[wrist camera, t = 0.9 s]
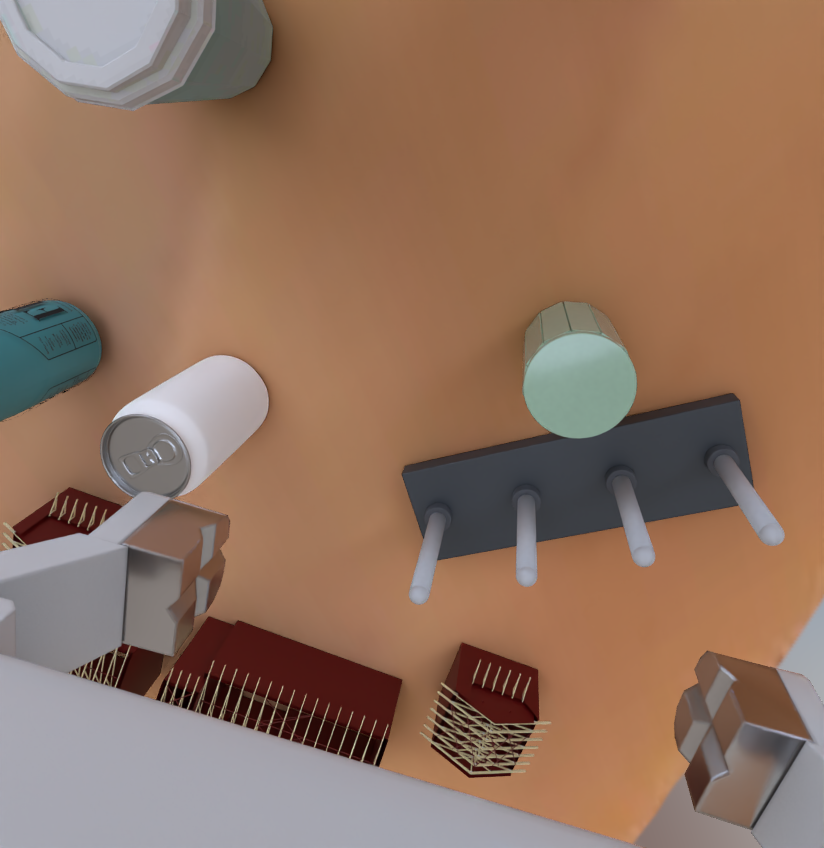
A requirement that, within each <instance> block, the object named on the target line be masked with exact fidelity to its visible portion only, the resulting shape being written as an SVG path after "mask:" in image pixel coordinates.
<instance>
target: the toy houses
mask: <svg viewBox="0 0 824 848" xmlns="http://www.w3.org/2000/svg"><path fill="white" fill-rule="evenodd" d="M122 507H123V506H120V505H117V504H115V503H112V502H109V501H106V500H103V499H101V498H98V497H95V496H92V495H89V494H87V493H84V492H81V491H78V490H75V489H73V488H70V487H69V488H68V489H67V490H65V491H64V492H62V493H61V494H59V492H57V495H56V497H55V498H54V499H52V500H51V501H49V502H48V503H46V504H45V505H44V506H42V507H41V508H39V509H38V510H36V511H35V512H34V513H32V514H31V515H29V516H28V517H26V518H25V519H24V520H22V521H21V522H19V523H18V524H16V525H15V526H13V527H12V528H13V529H14V530H13V529H12V528H11V527H10V526H9V525H8V524H7V523H6V522H5V523H3V524H4V525H5V526H6V527H7V528H8V529H9V530H10V531H11V532H12V533H13V534H14V537H13V540H12V539H11V538H10V537H9V536H8V535H7V534H6V533H2V534H3V535H4V536H5V537H6V538H7V539H8V540H9V541H10V542H11V543H12V544H13V548H17V547H22V546H26V545H30V544H34V543H39V542H43V541H47V540H51V539H56V538H60V537H64V536H68V535H73V534H77V533H81V534H85V535H89V534H90V533H91V532H92V531H94V530H95V529H96V528H97V527H99V526H100V525H101V524H102V523H103V522H105V521H106V520H107V519H108V518H110V517H111V516H112V515H113V514H114V513H116V512H117V511H118V510H119V509H121V508H122ZM2 545H3V546H4V547H5V548H6V549H7V550H9V549H10V548H9V547H8V546H7V545H6V544H5V543H2ZM114 650H116V651H115V653H114V654H111V653H106V654H104V655H102V656H100V657H98V658H97V659H95V660H93V661H91V662H89V663H87V664H85V665H83V666H81V667H79V668H77V669H75V670H73V671H71V672H69V673H68V674H72V675H75V676H78V677H82V678H85V679H88V680H91V681H95V682H98V683H101V684H105V685H108V686H111V687H115V688H118V689H121V690H125V691H128V692H131V693H135V694H138V695H141V696H144V695H145V694H146V692H147V691H148V690H149V688H150V687H151V685H152V684H153V683H154V681H155V680H156V679H157V677H158V676H159V674H160V671H161V666H162V660H163V655H164V654H161V653H157V652H153V651H150V650H146V649H142V648H138V647H135V646H131V645H127V644H123V643H122V645H121V646H120V647H118V648H116V649H114ZM117 651H119V652H122V653H125V654H127V655H126V657H125V658H122V657H119V656H117ZM128 655H129V656H128ZM225 684H228V685H231V686H228V685H225ZM401 684H402V680H401V679H398V678H396V677H393V676H390V675H387V674H385V673H382V672H379V671H376V670H374V669H371V668H368V667H365V666H362V665H360V664H357V663H354V662H351V661H349V660H346V659H343V658H340V657H338V656H335V655H332V654H329V653H327V652H324V651H321V650H318V649H315V648H313V647H310V646H307V645H304V644H302V643H299V642H296V641H293V640H291V639H288V638H285V637H282V636H280V635H277V634H274V633H271V632H268V631H266V630H263V629H260V628H257V627H255V626H252V625H249V624H246V623H244V622H241V621H237V623H236V624H235V626H234V625H231V624H228V623H225V622H223V621H220V620H217V619H214V618H212V617H208V618H207V620H206V621H205V623H204V624H203V625H202V627H201V628H200V630H199V631H198V632H197V634H196V635H195V637H194V638H193V639H192V641H191V642H190V644H189V645H188V647H187V648H186V649H185V651H184V652H183V654H182V655H181V656H180V658H179V659H178V661H177V662H176V663H175V665H174V666H173V668H172V669H171V671H170V672H169V673H168V675H167V676H166V678H165V679H164V680H163V682H162V685H161V687H160V690H159V693H158V696H157V699H156V700H158V701H161V702H164V703H168V704H171V705H174V706H178V707H181V708H184V709H187V710H191V711H194V712H197V713H201V714H204V715H207V716H211V717H214V718H217V719H221V720H224V721H227V722H231V723H234V724H237V725H240V726H244V727H247V728H250V729H254V730H257V731H260V732H264V733H267V734H270V735H274V736H277V737H280V738H283V739H287V740H290V741H293V742H297V743H300V744H303V745H307V746H310V747H313V748H317V749H320V750H323V751H327V752H330V753H333V754H336V755H340V756H343V757H346V758H350V759H353V760H356V761H360V762H363V763H366V764H370V765H373V766H376V767H379V765H380V762H381V759H382V756H383V754H384V751H385V748H386V745H387V742H388V738H389V733H390V729H391V725H392V721H393V717H394V713H395V709H396V704H397V700H398V696H399V692H400V688H401ZM441 685H442V686H443V688H442V691H441V692H439V691H438V692H437V693H438V694H440V695H439V700H438V701H437V700H434V702H435V703H437V704H438V706H437V711H435V710H434V709H433V708H430V710H432V711H433V712H434V713H435V714H436V719H435V721H434V720H433V719H432V718H430V717H429V716H427V718H428V719H429V720H430V721H432V722H433V723H434V724H435V725H434V731H433V730H432V729H431V728H429V727H428V726H427V725H426V724H424V725H423V726H424V727H426V728H427V729H428V730H429V731H431V732H432V733H433V737H432V740H431V739H430V738H429V737H427V736H426V735H425V734H424V733H422V732H420V734H421V735H422V736H424V737H425V738H426V739H427V740H429V741H430V742H431V747H432V748H433V749H434V750H436V751H437V752H438V753H439V754H440V755H442V756H443V757H444V758H445V759H447V760H448V761H449V762H450V763H452V764H453V765H454V766H455V767H457V768H458V769H459V770H460V771H461V772H463V773H464V774H465V775H466V776H468V777H469V778H475V777H496V776H511V773H516V772H526V770H525V769H523V770H513V768H514V766H515V765H525V764H530V762H517V760H518V758H519V757H533V756H534V754H521V752H522V750H523V749H538V746H525V744H526V743H527V741H540V740H543V739H542V738H529V737H530V735H531V734H532V733H536V732H547V731H546V730H533V729H534V727H535V725H536V724H551V722H550V721H544V722H537V721H538V719H539V694H538V670H537V669H534V668H532V667H529V666H526V665H523V664H520V663H518V662H515V661H512V660H509V659H506V658H504V657H501V656H498V655H495V654H492V653H490V652H487V651H484V650H481V649H479V648H476V647H473V646H470V645H467V644H465V643H462V644H461V646H460V648H459V651H458V653H457V655H456V658H455V660H454V662H453V665H452V667H451V669H450V672H449V674H448V677H447V679H446V681H445V684H444V683H441ZM232 686H234V687H237V688H239V689H242V690H239V689H236V688H233V687H232ZM243 690H245V691H248V692H250V693H253V694H254V695H255V694H256V695H259V696H261V697H264V698H265V701H266V700H267V699H269V700H272V701H275V702H277V704H278V703H280V704H283V705H286V706H289V707H291V708H294V709H297V710H300V712H299V711H296V710H294V709H291V708H289V707H288V709H287V711H286V712H285V711H282V710H279V709H277V708H276V707H277V704H276V707H275V708H274V707H273V706H272V705H271V704H270V703H269V701H268V700H267V701H268V703H269V704H270V705H271V706H272V707H271V706H268V705H266V704H265V701H264V703H260V702H257V701H255V700H253V699H254V695H253V698H252V699H249V698H246V697H244V696H242V695H243ZM456 696H457V697H458V698H460V699H461V700H462V701H464V702H462V701H459V700H457V699H456ZM266 698H267V699H266ZM301 711H302V712H305V713H308V714H311V715H307V714H304V713H302V712H301ZM313 716H316V717H319V718H321V719H324V720H327V721H330V722H332V723H335V724H332V723H329V722H326V721H324V720H321V719H318V718H315V717H313ZM336 724H338V725H341V726H343V727H346V728H349V729H352V730H354V731H357V732H358V733H356V732H354V731H351V730H348V729H345V728H343V727H340V726H337V725H336ZM359 732H360V733H363V734H365V735H368V736H370V737H367V736H365V735H362V734H359ZM371 737H373V738H376V739H373V738H371Z"/></svg>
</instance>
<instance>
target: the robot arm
mask: <svg viewBox="0 0 824 848" xmlns="http://www.w3.org/2000/svg"><path fill="white" fill-rule="evenodd" d="M229 528H230V520H229V517H228V515H225V514H222V513H219V512H215V511H212V510H209V509H205V508H202V507H199V506H195V505H192V504H189V503H186V502H182V501H179V500H176V499H172V498H169V497H166V496H162V495H158V494H155V493H151V492H140V493H139V494H138V495H136V496H135V497H134V498H133V499H131V500H130V501H129V502H128V503H127V504H125V505H124V506H123V507H122V508H121V509H119V510H118V511H117V512H116V513H114V514H113V515H112V516H111V517H110V518H108V519H107V520H106V521H105V522H103V523H102V524H101V525H100V526H99V527H97V528H96V529H95V530H94V531H92V532H91V533H90V534H89V535H85V534H81V533H77V534H73V535H68V536H64V537H60V538H56V539H51V540H47V541H43V542H39V543H34V544H30V545H26V546H22V547H17V548H13V549H9V550H4V551H0V848H645V847H641V846H638V845H635V844H631V843H628V842H625V841H621V840H618V839H615V838H611V837H608V836H605V835H601V834H598V833H595V832H592V831H588V830H585V829H582V828H578V827H575V826H572V825H568V824H565V823H562V822H558V821H555V820H552V819H548V818H545V817H542V816H538V815H535V814H532V813H528V812H525V811H522V810H519V809H515V808H512V807H509V806H505V805H502V804H499V803H495V802H492V801H489V800H485V799H482V798H479V797H476V796H472V795H469V794H466V793H462V792H459V791H456V790H452V789H449V788H446V787H442V786H439V785H436V784H432V783H429V782H426V781H423V780H419V779H416V778H413V777H409V776H406V775H403V774H399V773H396V772H393V771H389V770H386V769H383V768H379V767H376V766H373V765H370V764H366V763H363V762H360V761H356V760H353V759H350V758H346V757H343V756H340V755H336V754H333V753H330V752H327V751H323V750H320V749H317V748H313V747H310V746H307V745H303V744H300V743H297V742H293V741H290V740H287V739H283V738H280V737H277V736H274V735H270V734H267V733H264V732H260V731H257V730H254V729H250V728H247V727H244V726H240V725H237V724H234V723H231V722H227V721H224V720H221V719H217V718H214V717H211V716H207V715H204V714H201V713H197V712H194V711H191V710H187V709H184V708H181V707H178V706H174V705H171V704H168V703H164V702H161V701H158V700H154V699H151V698H148V697H144V696H141V695H138V694H135V693H131V692H128V691H125V690H121V689H118V688H115V687H111V686H108V685H105V684H101V683H98V682H95V681H91V680H88V679H85V678H82V677H78V676H75V675H72V674H68V673H69V672H71V671H73V670H75V669H77V668H79V667H81V666H83V665H85V664H87V663H89V662H91V661H93V660H95V659H97V658H98V657H100V656H102V655H104V654H106V653H108V652H110V651H112V650H114V649H116V648H118V647H120V646H121V645H122V643H123V644H127V645H131V646H135V647H138V648H142V649H146V650H150V651H153V652H157V653H161V654H165V655H168V656H172V657H173V656H174V655H175V653H176V652H177V651H178V649H179V648H180V647H181V645H182V644H183V643H184V641H185V640H186V638H187V637H188V636H189V634H190V633H191V632H192V630H193V625H194V617H195V616H198V615H201V614H203V613H205V612H206V611H207V609H208V608H209V607H210V605H211V604H212V602H213V600H214V598H215V596H216V594H217V592H218V589H219V587H220V584H221V581H222V577H223V573H224V567H225V561H226V560H225V558H224V556H223V554H222V552H221V550H220V548H221V547H222V546H223V544H224V543H225V542H226V540H227V539H228V538H229ZM694 670H695V673H696V676H697V679H698V682H699V683H697V684H695V685H694V686H692V687H690V688H688V689H686V690H684V692H683V694H682V696H681V699H680V701H679V703H678V706H677V710H676V716H675V722H674V730H675V739H676V744H677V748H678V751H679V752H680V753H681V754H682V755H683V756H684V757H685V759H686V760H687V761H688V762H689V763H690V764H689V766H688V768H687V770H686V772H685V777H686V781H687V785H688V788H689V791H690V795H691V799H692V802H693V806H694V810H695V812H698V813H701V814H704V815H707V816H710V817H713V818H716V819H719V820H722V821H725V822H728V823H731V824H734V825H737V826H741V827H744V828H747V829H750V830H752V831H751V833H752V835H753V836H754V837H755V839H756V840H757V841H758V843H759V844H760V845H761V847H762V848H824V704H823V703H822V701H821V699H820V697H819V696H818V694H817V693H816V691H815V689H814V687H813V685H812V684H811V682H810V680H808V679H807V678H806V677H804V676H803V675H802V674H798V673H794V672H789V671H786V670H782V669H778V668H773V667H768V666H764V665H760V664H756V663H752V662H748V661H745V660H741V659H737V658H733V657H729V656H725V655H722V654H718V653H714V652H710V651H707V652H706V653H705V654H704V655H703V656H702V657H701V658H700V660H699V662H698V663H697V665H696V667H695V669H694Z"/></svg>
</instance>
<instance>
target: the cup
mask: <svg viewBox="0 0 824 848" xmlns="http://www.w3.org/2000/svg"><path fill="white" fill-rule="evenodd" d="M636 390H637V376H636V371H635V369H634V366H633V364H632V362H631V360H630V357H629V355H628V352H627V350H626V348H625V347H624V345H623V343H622V341H621V339H620V338H619V336H618V334H617V332H616V330H615V329H614V327H613V325H612V323H611V321H610V320H609V318H608V317H607V316H606V315H605V314H603V313H602V312H600V311H599V310H597V309H596V308H594V307H593V306H592V305H590V304H587V303H581V302H567V301H564V302H560V303H558V304H556V305H553V306H551V307H549V308H547V309H545V310H543V311H541V313H539V314H538V315H537V316H536V318H535V319H534V320H533V322H532V323H531V324H530V326H529V327H528V328H527V330H526V332H525V339H524V348H523V381H522V392H523V396H524V398H525V402H526V405H527V407H528V409H529V411H530V413H531V415H532V416H533V417H534V419H535V420H536V421H537V422H538V423H539V424H540V425H541V426H543V427H544V428H545V429H547V430H549V431H550V432H552V433H554V434H557V435H560V436H563V437H568V438H589V437H594V436H597V435H600V434H602V433H604V432H606V431H608V430H610V429H612V428H613V427H614V426H616V425H617V424H618V423H619V422H620V421H621V420H622V419H623V418H624V417H625V416H626V414H627V413H628V412H629V410H630V408H631V406H632V404H633V402H634V399H635V395H636Z"/></svg>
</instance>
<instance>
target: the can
mask: <svg viewBox="0 0 824 848" xmlns="http://www.w3.org/2000/svg"><path fill="white" fill-rule="evenodd" d="M268 407H269V398H268V392H267V388H266V386H265V384H264V382H263V380H262V379H261V377H260V376H259V375H258V373H257V372H256V371H255V370H254V369H253V368H252V367H251V366H250V365H248V364H247V363H245V362H244V361H242V360H240V359H238V358H235V357H231V356H226V355H216V356H211V357H208V358H206V359H204V360H202V361H200V362H198V363H196V364H194V365H193V366H191V367H189V368H187V369H186V370H184V371H182V372H181V373H179V374H177V375H175V376H174V377H172V378H170V379H169V380H167V381H165V382H163V383H162V384H160V385H158V386H157V387H155V388H153V389H152V390H150V391H148V392H147V393H145V394H143V395H142V396H140V397H138V398H137V399H135V400H133V401H132V402H130V403H129V404H127V405H126V406H125V407H123V408H122V409H121V410H120V411H119V412H118V413H117V414H116V416H115V417H114V419H113V421H112V423H111V424H110V425H109V426H108V427H107V428H106V430H105V431H104V433H103V436H102V439H101V444H100V454H101V460H102V463H103V466H104V468H105V470H106V472H107V474H108V476H109V477H110V479H111V480H112V481H113V482H114V484H115V485H116V486H117V487H118V488H120V489H121V490H122V491H123V492H125V493H126V494H128V495H129V496H131V497H133V498H134V497H135V496H136V495H138V494H139V493H140V492H151V493H155V494H158V495H162V496H166V497H169V498H172V499H174V498H175V497H177V496H181V495H184V494H187V493H189V492H191V491H192V490H194V489H195V488H196V487H198V486H199V485H200V484H201V483H202V482H203V481H204V480H206V479H207V478H208V477H209V476H210V475H211V474H212V473H213V472H214V471H215V470H216V469H217V468H218V467H219V466H220V465H221V464H222V463H223V462H224V461H225V460H226V459H227V458H229V457H230V456H231V455H232V454H233V453H234V452H235V451H236V450H237V449H238V448H239V447H240V446H241V445H242V444H243V443H244V442H245V441H246V440H247V439H248V438H249V437H250V436H251V435H252V434H253V433H254V432H255V431H256V430H257V429H258V428H259V427H260V426H261V424H262V423H263V421H264V420H265V418H266V415H267V412H268Z"/></svg>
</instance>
